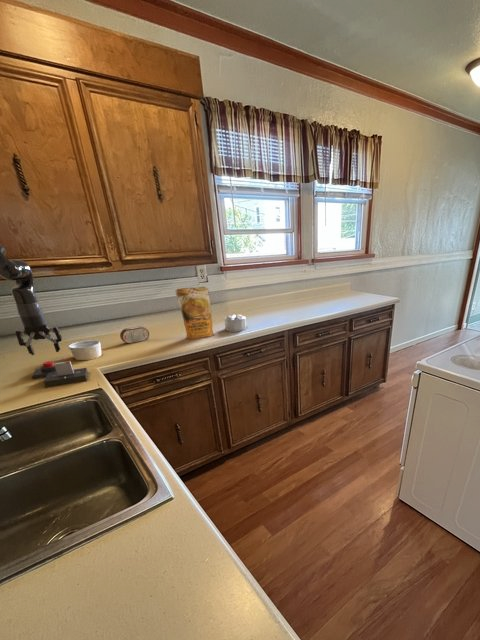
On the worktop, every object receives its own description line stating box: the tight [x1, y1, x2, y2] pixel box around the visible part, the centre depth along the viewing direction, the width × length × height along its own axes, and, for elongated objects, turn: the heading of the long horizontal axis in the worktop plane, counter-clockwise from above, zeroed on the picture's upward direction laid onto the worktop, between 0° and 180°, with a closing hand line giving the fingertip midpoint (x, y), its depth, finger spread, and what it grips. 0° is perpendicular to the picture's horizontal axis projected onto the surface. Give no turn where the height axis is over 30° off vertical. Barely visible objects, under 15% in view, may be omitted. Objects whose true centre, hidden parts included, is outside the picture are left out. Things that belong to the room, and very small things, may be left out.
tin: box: [119, 325, 150, 344], centre depth 183 cm, size 15×3×8 cm, turn 134°
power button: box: [42, 360, 55, 368], centre depth 140 cm, size 4×4×2 cm
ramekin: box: [68, 339, 102, 361], centre depth 160 cm, size 13×13×7 cm
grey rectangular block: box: [53, 360, 74, 376], centre depth 133 cm, size 6×2×5 cm, turn 118°
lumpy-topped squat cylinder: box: [224, 313, 247, 333], centre depth 208 cm, size 10×13×9 cm
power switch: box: [31, 364, 56, 380], centre depth 141 cm, size 12×9×4 cm
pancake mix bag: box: [175, 286, 215, 340], centre depth 188 cm, size 7×19×28 cm, turn 122°
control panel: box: [43, 367, 89, 389], centre depth 135 cm, size 14×10×3 cm
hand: (45, 353), depth 137 cm, fingers open, 8 cm apart
